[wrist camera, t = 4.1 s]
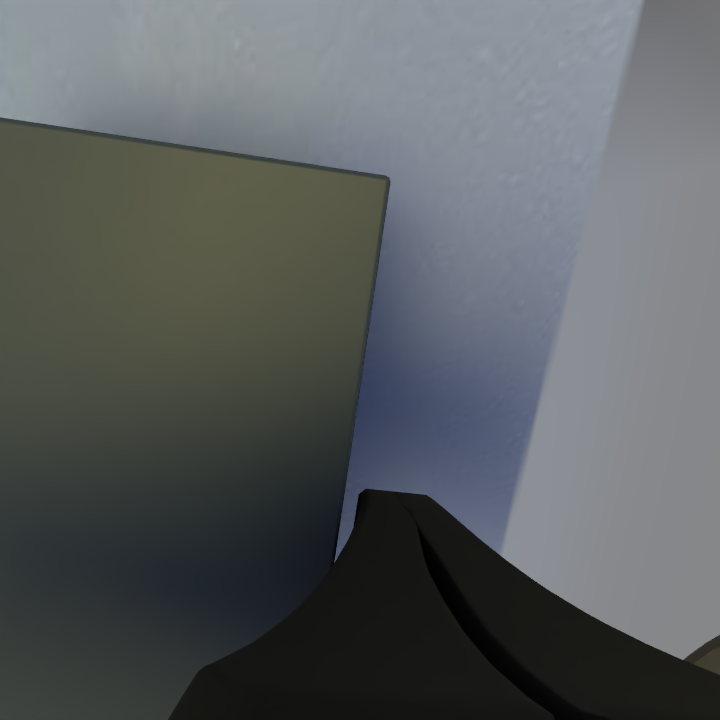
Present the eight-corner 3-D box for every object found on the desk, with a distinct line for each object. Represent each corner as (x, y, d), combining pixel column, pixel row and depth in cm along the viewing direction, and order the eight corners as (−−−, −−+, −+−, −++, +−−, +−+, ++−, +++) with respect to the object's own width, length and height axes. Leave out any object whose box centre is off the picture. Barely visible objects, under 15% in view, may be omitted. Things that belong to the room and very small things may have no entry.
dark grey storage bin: (353, 189, 18) (391, 175, 8) (302, 569, 21) (285, 898, 11) (57, 145, 17) (-291, 72, 7) (47, 545, 20) (-216, 875, 10)
